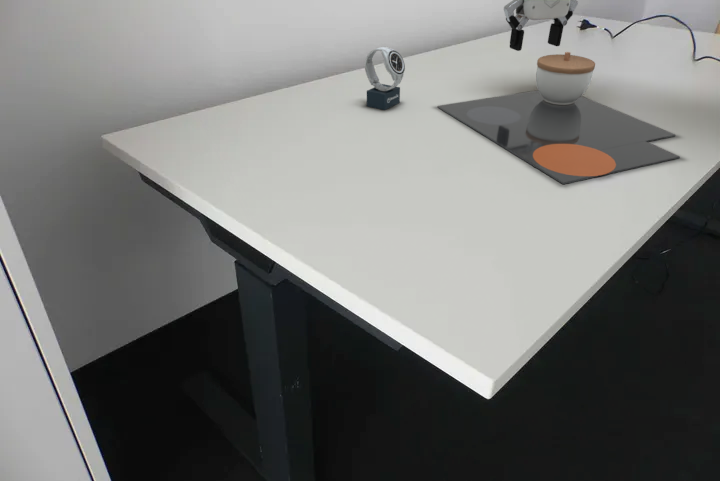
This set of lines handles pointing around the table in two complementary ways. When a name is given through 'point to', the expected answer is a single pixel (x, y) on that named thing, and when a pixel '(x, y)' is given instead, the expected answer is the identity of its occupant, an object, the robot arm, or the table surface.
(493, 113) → the hob
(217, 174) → the table surface
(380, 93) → the watch
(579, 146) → the front ring
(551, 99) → the trinket box
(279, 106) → the table surface
